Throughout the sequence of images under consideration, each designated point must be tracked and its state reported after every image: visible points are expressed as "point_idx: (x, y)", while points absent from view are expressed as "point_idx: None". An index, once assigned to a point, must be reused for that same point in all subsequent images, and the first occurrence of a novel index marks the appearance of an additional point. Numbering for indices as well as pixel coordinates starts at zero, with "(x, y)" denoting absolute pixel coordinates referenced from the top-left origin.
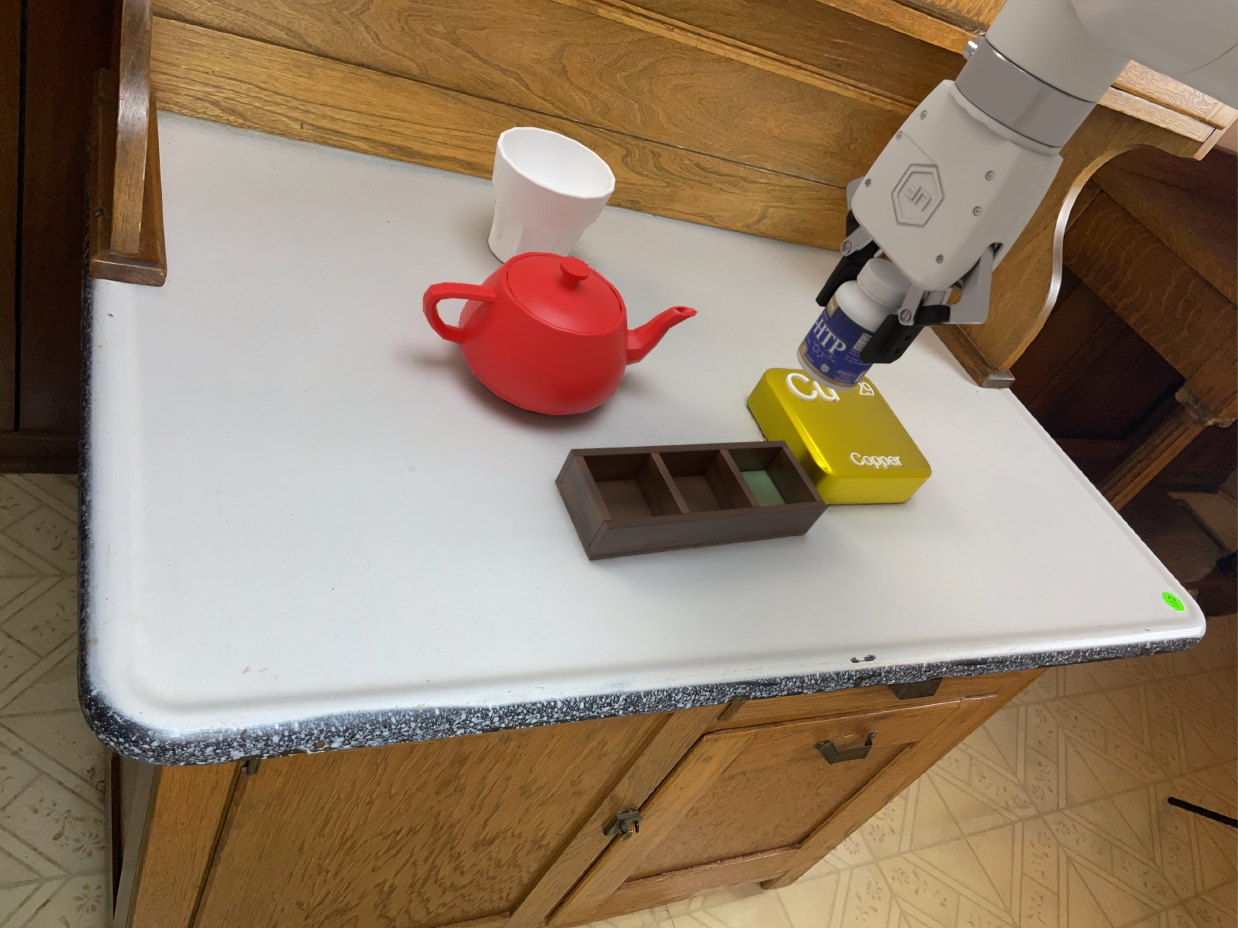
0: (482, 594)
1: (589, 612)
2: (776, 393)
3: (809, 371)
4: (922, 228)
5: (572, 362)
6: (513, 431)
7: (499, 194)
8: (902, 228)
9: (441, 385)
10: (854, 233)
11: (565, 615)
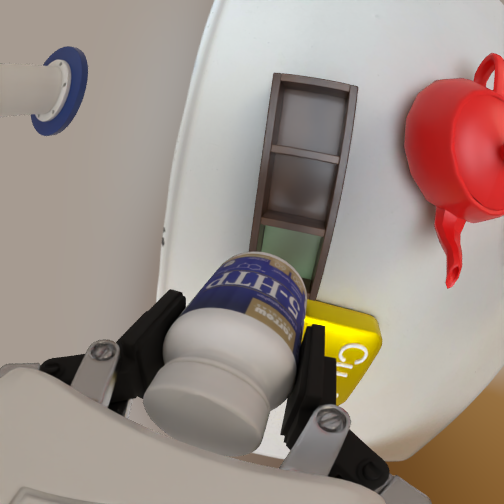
0: (273, 13)
1: (241, 65)
2: (358, 330)
3: (249, 252)
4: (26, 486)
5: (432, 116)
6: (403, 93)
7: None
8: (97, 496)
9: (447, 73)
10: (333, 452)
11: (244, 50)
